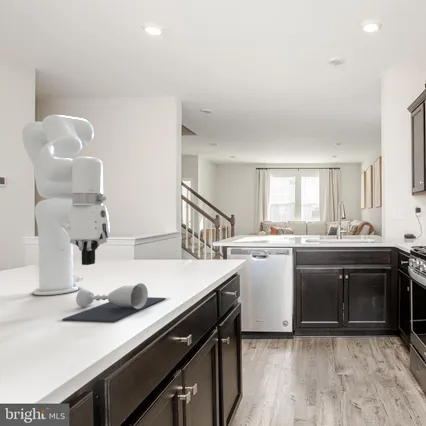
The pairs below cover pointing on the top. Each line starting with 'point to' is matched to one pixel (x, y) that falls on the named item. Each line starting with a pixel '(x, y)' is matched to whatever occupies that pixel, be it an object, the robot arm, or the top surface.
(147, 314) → the top surface
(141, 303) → the chalice
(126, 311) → the mat
